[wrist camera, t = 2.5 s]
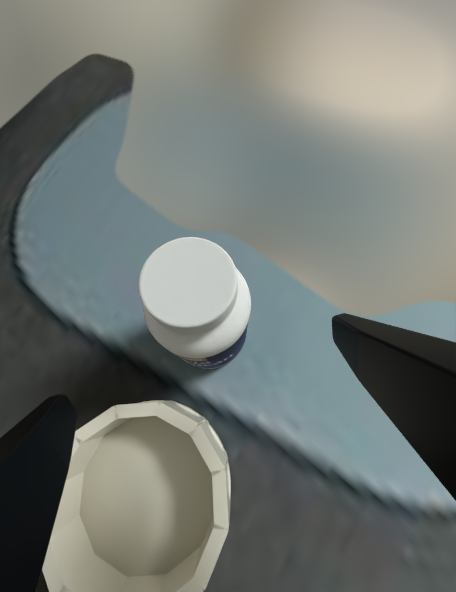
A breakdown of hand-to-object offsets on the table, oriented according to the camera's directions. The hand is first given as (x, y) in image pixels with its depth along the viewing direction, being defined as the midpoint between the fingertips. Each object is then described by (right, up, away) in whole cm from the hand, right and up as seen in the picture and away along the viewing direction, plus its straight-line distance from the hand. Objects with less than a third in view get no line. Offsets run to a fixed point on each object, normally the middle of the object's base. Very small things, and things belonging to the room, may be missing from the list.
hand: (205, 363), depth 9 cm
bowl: (-4, -9, +8) cm, 13 cm away
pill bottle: (-1, 0, +11) cm, 11 cm away
